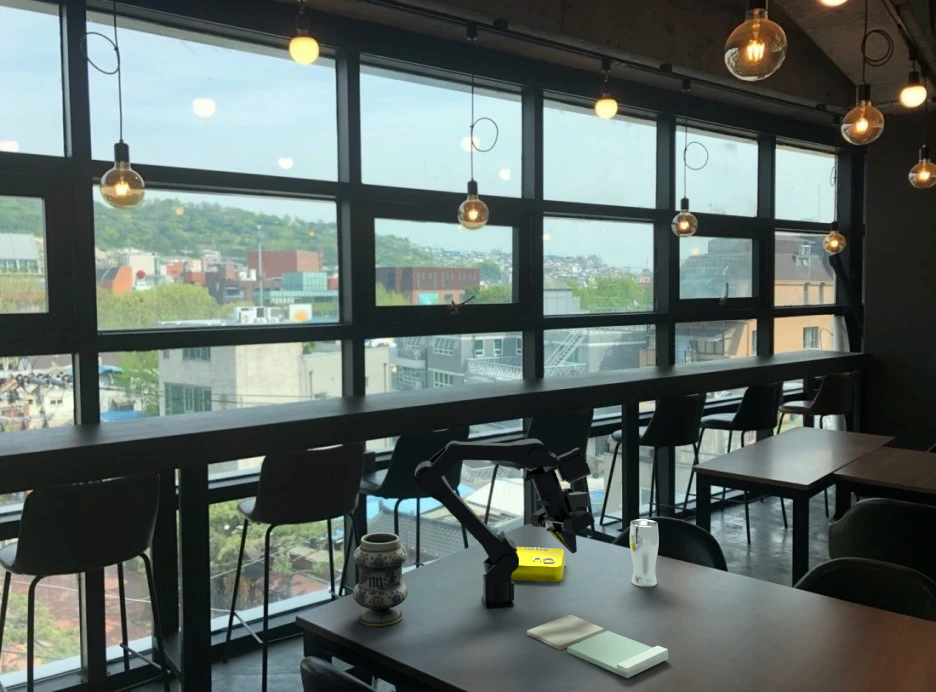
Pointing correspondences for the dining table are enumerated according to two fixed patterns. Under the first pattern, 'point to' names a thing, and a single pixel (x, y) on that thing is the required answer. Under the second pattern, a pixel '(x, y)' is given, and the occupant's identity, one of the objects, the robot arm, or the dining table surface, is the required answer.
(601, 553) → the dining table surface
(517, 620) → the dining table surface
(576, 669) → the dining table surface
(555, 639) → the plate
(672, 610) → the dining table surface
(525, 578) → the element tile
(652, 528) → the beer glass
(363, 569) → the apothecary jar
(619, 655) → the panel
